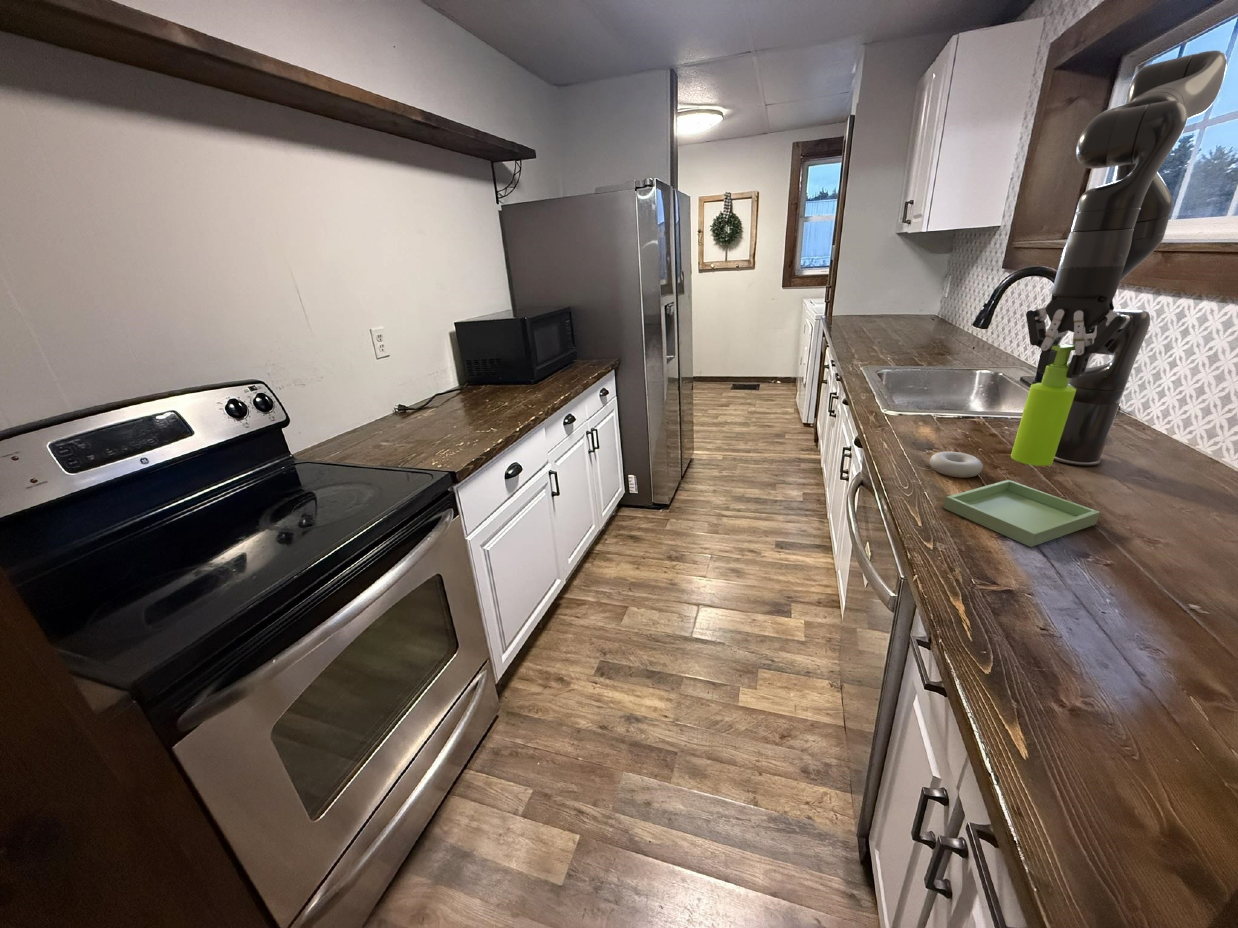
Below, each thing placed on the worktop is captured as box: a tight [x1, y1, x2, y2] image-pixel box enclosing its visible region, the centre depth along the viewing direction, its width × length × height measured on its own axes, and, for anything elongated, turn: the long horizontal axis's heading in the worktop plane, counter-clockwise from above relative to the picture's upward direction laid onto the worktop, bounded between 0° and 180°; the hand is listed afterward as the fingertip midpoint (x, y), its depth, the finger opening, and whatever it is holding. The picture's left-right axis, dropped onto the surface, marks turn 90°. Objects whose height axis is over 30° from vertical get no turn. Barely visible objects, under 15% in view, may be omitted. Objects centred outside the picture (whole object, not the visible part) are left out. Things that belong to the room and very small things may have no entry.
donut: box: [929, 450, 984, 479], centre depth 111 cm, size 10×4×10 cm
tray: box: [943, 479, 1101, 548], centre depth 92 cm, size 18×16×2 cm
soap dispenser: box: [1010, 343, 1076, 467], centre depth 84 cm, size 6×7×20 cm
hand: (1058, 374), depth 82 cm, fingers closed on soap dispenser, 3 cm apart
